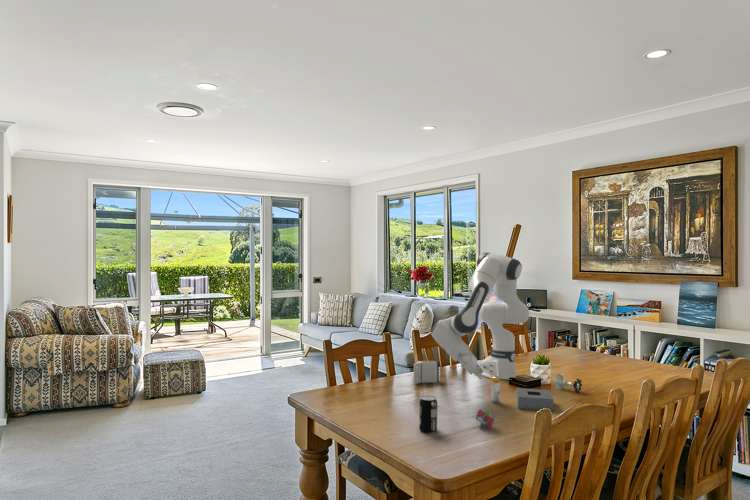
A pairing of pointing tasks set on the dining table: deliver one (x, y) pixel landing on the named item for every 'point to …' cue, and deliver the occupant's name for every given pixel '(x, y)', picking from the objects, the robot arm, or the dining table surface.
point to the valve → (567, 383)
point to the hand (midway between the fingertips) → (482, 375)
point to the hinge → (426, 371)
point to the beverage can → (428, 414)
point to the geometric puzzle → (484, 419)
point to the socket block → (534, 399)
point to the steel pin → (495, 389)
